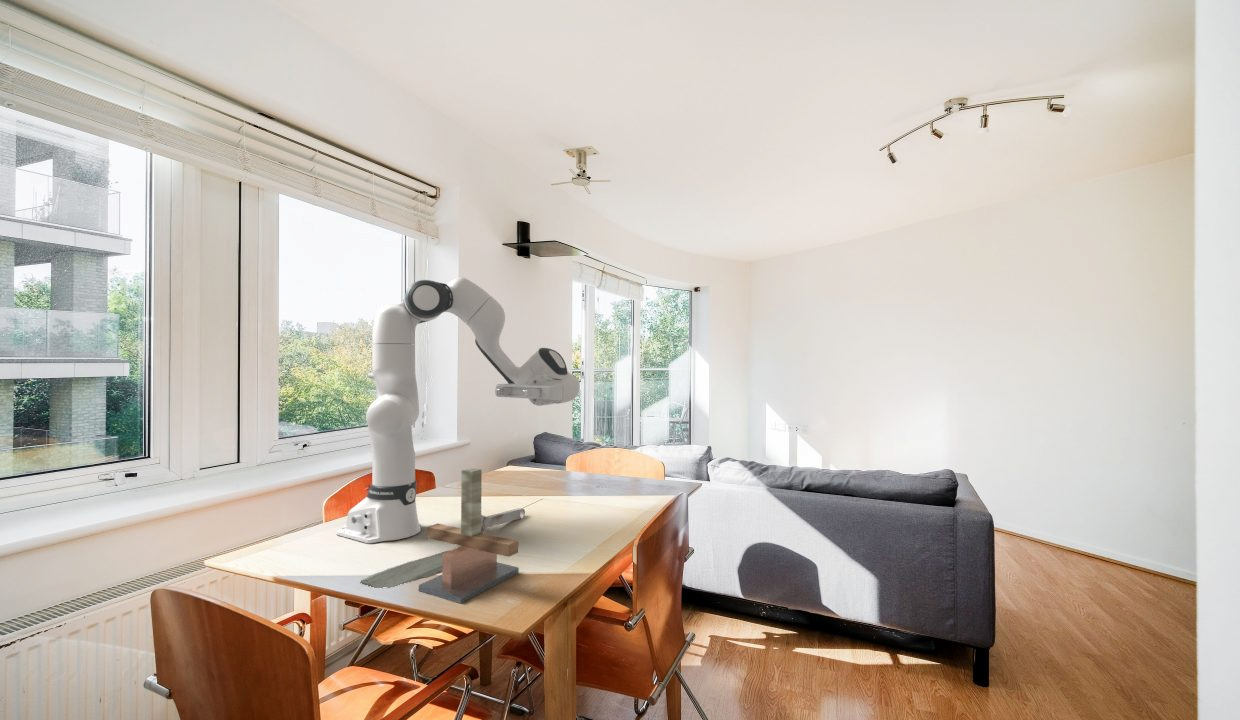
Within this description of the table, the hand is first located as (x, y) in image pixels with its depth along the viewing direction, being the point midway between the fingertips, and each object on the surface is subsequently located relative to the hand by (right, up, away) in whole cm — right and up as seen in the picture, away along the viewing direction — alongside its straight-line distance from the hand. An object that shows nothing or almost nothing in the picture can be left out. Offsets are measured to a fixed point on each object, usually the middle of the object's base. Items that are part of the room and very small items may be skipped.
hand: (510, 392), depth 145 cm
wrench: (-6, -40, +10) cm, 42 cm away
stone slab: (-17, -41, -21) cm, 49 cm away
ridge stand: (-3, -40, -26) cm, 48 cm away
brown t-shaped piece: (-3, -32, -26) cm, 42 cm away
